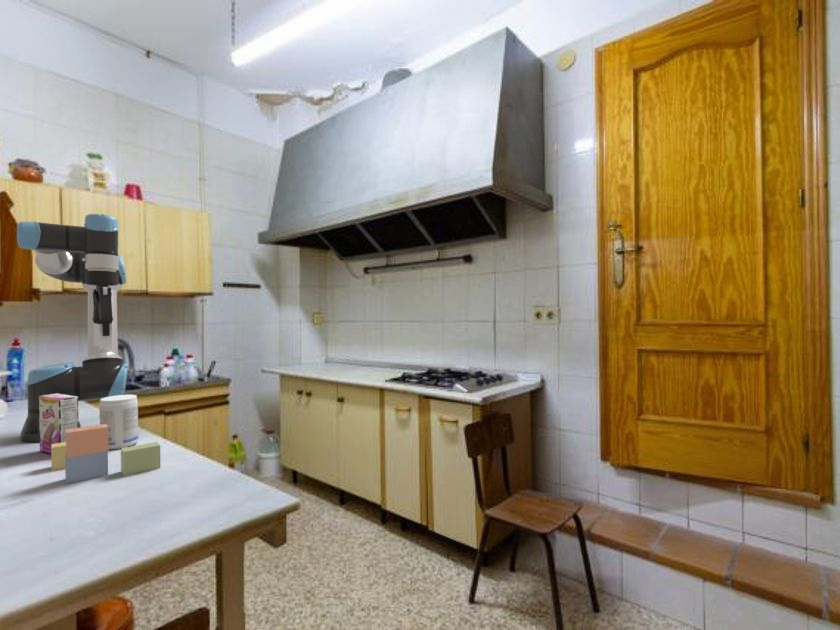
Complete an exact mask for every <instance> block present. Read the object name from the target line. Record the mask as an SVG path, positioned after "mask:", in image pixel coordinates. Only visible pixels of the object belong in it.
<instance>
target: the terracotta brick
mask: <svg viewBox="0 0 840 630" xmlns="http://www.w3.org/2000/svg"><path fill="white" fill-rule="evenodd" d="M106 451H108V452H109V444H108V426H107V424H102V425H100V424H97V425H89V426H81V428H74V429H67V430H66V457H67V458H72V457H78V456H84V455H89V454H95V453H101V452H106Z"/></svg>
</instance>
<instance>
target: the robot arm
mask: <svg viewBox="0 0 840 630" xmlns="http://www.w3.org/2000/svg"><path fill="white" fill-rule="evenodd" d="M119 229H120V228H119V223H118V219H117V217H115V216H112V215H109V214H108V215H107V214H102V213H89V214H86V215H85V218H84V224H83V226H81V225H80V226H78V225H69V224H68V225H67V224H66V225H65V224H59V223H58V224H57V223H47V222H40V221H39V222H38V221H20V222H18V224H17V226H16V241H17V246H18V247H19V248H20V249H23V250H31V251H33V252H34V254H35V264H36V267H37V268H38V270H40V271H41V273H43V274H45V275H47V276H49V277H50V278H53V279H56V280H59V281H62V282H66V283H80V284H81V283H82V284H81V285H82V289H84V290H85V291H86V292H87V356H86V357H85V358H84V359H83V360H82V361H81V362H82V363H81V366H75V364H74V362H66V363H65V362H64V363H63V362H62V363H57V364H50V365H43V366H40V367H35V368H32V369H31V370H30V371H29V372H28V374H27V383H26V386H27V416H26V419H25V422H24V424H23V426H22V429H21V431H20V441H21V442H24V443H25V442H26V443H37V442H38V443H40V422H39V396H42V395H49V394H57V393H58V394H64V395H71V396H77V397H78V402H82V401H83V402H84V401H85V402H86V401H93V400H95V401H96V400H100V399H102V398H105V397H110V396H117V395H125V394H124V393H125V390H126V385H127V378H128V371H129V370H128V369H129V365H128V363H125V362H124V359H123V357H121V356H120V355H119V349H118V348H119V346H118V345H119V343H118V292H119V291H120V290H121V289H122V285H125V284H126V283H127V276H126V267H125V263H124V259H123V256H122V254H119V231H120V230H119ZM79 420H80V419H78V426H79V428H81V427H82V425H81V423H80V421H79Z"/></svg>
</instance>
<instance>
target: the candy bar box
mask: <svg viewBox="0 0 840 630" xmlns="http://www.w3.org/2000/svg"><path fill="white" fill-rule="evenodd" d="M78 420H79V401H78V397H77V396H71V395H64V394H58V393H57V394H49V395H42V396H39V422H40V442H39V452H40V453H45V454H49V455H51V444H56V443H63V442H66V430H67V429H74V428H79V426H78Z"/></svg>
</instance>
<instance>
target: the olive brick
mask: <svg viewBox="0 0 840 630" xmlns="http://www.w3.org/2000/svg"><path fill="white" fill-rule="evenodd" d="M157 468H159V469H161V444H160V443H159V442H157V441H154V442H150V443H149V442H148V443H143V444H137V445H132V446H130V447H125V448H121V449H120V472H122V473H121V474H122V476H123V477H124V475H125V476H129V475H128V474H130V475H133V474H132V473H135V474H139V473H138V472H140V473H143V471H144V472H149V471H153V470H152V469H154V470H158V469H157ZM148 470H149V471H148Z"/></svg>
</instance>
